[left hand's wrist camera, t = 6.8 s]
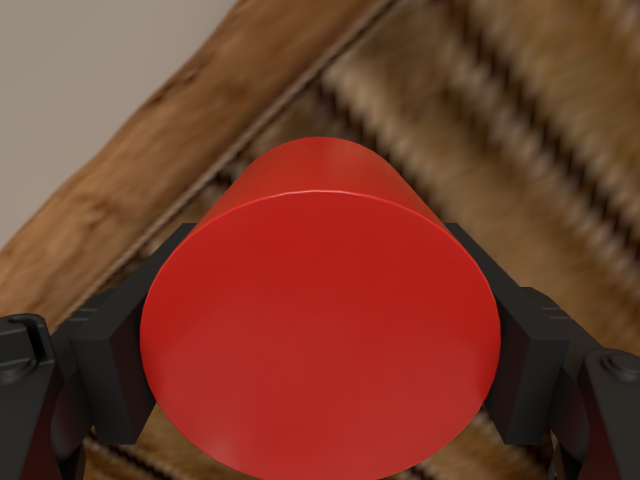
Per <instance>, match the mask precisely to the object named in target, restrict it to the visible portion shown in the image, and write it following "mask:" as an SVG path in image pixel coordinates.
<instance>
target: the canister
mask: <svg viewBox="0 0 640 480" xmlns="http://www.w3.org/2000/svg"><path fill="white" fill-rule="evenodd" d="M500 347H501V330H500V318H499V314H498V310H497V305H496V301H495V298H494V296H493V293H492V291H491V288H490V286H489V283H488V281H487V279H486V277H485V276H484V274H483V273H482V271H481V269H480V268H479V266H478V264H477V263H476V261H475V260H474V259H473V258H472V256H471V255H470V254H469V253H468V252H467V251H466V249H465V248H464V247H463V246H462V245H461V244H460V242H459V241H458V240H457V239H456V238H455V237H454V236H453V235H452V233H451V232H450V231H449V230H448V229H447V228H446V227H445V226H444V224H443V223H442V222H441V221H440V220H439V219H438V218H437V217H436V215H435V214H434V213H433V212H432V211H431V210H430V209H429V208H428V206H427V205H426V204H425V203H424V202H423V201H422V200H421V199H420V197H419V196H418V195H417V194H416V193H415V192H414V191H413V190H412V188H411V187H410V186H409V185H408V184H407V183H406V182H405V181H404V179H403V178H402V177H401V176H400V175H399V174H398V173H397V172H396V170H395V169H394V168H393V167H392V166H391V165H390V164H389V163H388V162H386V161H385V160H384V159H383V158H382V157H380V156H379V155H377V154H376V153H374V152H373V151H371V150H370V149H367V148H365V147H363V146H361V145H359V144H356V143H353V142H350V141H347V140H343V139H337V138H332V137H310V138H302V139H298V140H293V141H289V142H287V143H284V144H282V145H279V146H277V147H275V148H273V149H271V150H269V151H267V152H266V153H264V154H263V155H261V156H260V157H259V158H257V159H256V160H255V161H254V162H253V163H252V164H251V165H250V166H249V167H248V168H247V169H246V170H245V171H244V172H243V173H242V174H241V175H240V176H239V177H238V178H237V180H236V181H235V182H234V183H233V184H232V185H231V186H230V188H229V189H228V190H227V191H226V192H225V193H224V194H223V195H222V197H221V198H220V199H219V200H218V201H217V202H216V203H215V204H214V206H213V207H212V208H211V209H210V210H209V211H208V212H207V213H206V215H205V216H204V217H203V218H202V219H201V220H200V221H199V223H198V224H197V225H196V226H195V227H194V228H193V229H192V230H191V232H190V233H189V234H188V235H187V236H186V237H185V238H184V239H183V241H182V242H181V243H180V244H179V245H178V246H177V247H176V248H175V250H174V251H173V252H172V253H171V255H170V256H169V257H168V259H167V260H166V261H165V263H164V264H163V265H162V267H161V268H160V270H159V272H158V274H157V275H156V277H155V279H154V281H153V283H152V285H151V287H150V289H149V292H148V295H147V298H146V301H145V304H144V307H143V312H142V318H141V324H140V353H141V359H142V365H143V370H144V373H145V376H146V379H147V382H148V385H149V387H150V389H151V391H152V393H153V395H154V398H155V400H156V402H157V403H158V405H159V406H160V408H161V409H162V411H163V412H164V414H165V415H166V417H167V418H168V420H169V421H170V422H171V423H172V424H173V425H174V426H175V427H176V429H177V430H178V431H179V432H180V433H181V434H182V435H183V436H184V437H185V438H187V439H188V440H189V441H190V442H191V443H192V444H193V445H194V446H196V447H197V448H199V449H200V450H201V451H203V452H204V453H206V454H207V455H209V456H210V457H212V458H213V459H215V460H217V461H219V462H221V463H222V464H224V465H226V466H228V467H230V468H232V469H235V470H237V471H239V472H242V473H244V474H247V475H250V476H253V477H256V478H259V479H263V480H378V479H382V478H385V477H388V476H390V475H393V474H396V473H399V472H402V471H404V470H406V469H408V468H410V467H412V466H414V465H416V464H418V463H420V462H422V461H424V460H425V459H427V458H429V457H430V456H432V455H433V454H435V453H437V452H438V451H439V450H440V449H442V448H443V447H444V446H446V445H447V444H448V443H450V442H451V441H452V440H453V439H454V438H455V437H456V436H457V435H458V434H459V433H460V432H461V431H462V430H463V429H464V428H465V427H466V426H467V425H468V424H469V422H470V421H471V420H472V419H473V417H474V416H475V415H476V414H477V412H478V410H479V409H480V407H481V405H482V404H483V402H484V401H485V399H486V397H487V395H488V393H489V390H490V388H491V386H492V383H493V381H494V379H495V375H496V371H497V367H498V363H499V358H500Z"/></svg>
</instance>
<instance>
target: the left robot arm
mask: <svg viewBox="0 0 640 480" xmlns="http://www.w3.org/2000/svg"><path fill="white" fill-rule="evenodd" d="M197 224H198V223H183V224H182V225H181V226H180V227H179V228H178V229H177V230H176V231H175V232H174V233H173V234H172V235H171V236H170V237H169V238H168V239H167V240H166V241H165V242H164V243H163V244H162V245H161V246H160V247H159V248H158V249H157V250H156V251H155V252H154V253H153V254H152V255H151V256H150V257H149V258H148V259H147V260H146V261H145V262H144V263H143V264H142V265H141V266H140V267H139V268H138V269H137V270H136V271H135V272H134V273H133V274H132V275H131V276H130V277H129V278H128V279H127V280H126V281H125V282H124V283H123V284H122V285H121V286H120V287H119V288H109V289H107V290H105V291H104V292H102V293H100V294H98V295H96V296H94V297H92V298H91V299H90V300H89V301H88V302H87V303H86V304H85V305H83V306H82V307H81V308H80V311H77V312H76V313H75V314H74V315H73V316H72V317H71V318H70V320H69V321H66V322H65V323H64V324H63V325H62V326H61V327H60V328H59V329H58V330H57V331H56V332H55V333H53V334H52V335H51V336H50V335H49V332H48V328H47V325H46V322H45V319H44V318H43V317H41V316H40V315H38V314H29V313H24V314H14V315H9V316H5V317H1V318H0V480H83V477H84V470H85V463H86V453H85V448H84V445H83V439H84V438H85V436H86V435H87V433H88V432H89V430H90V429H91V427H92V426H93V425H94V428H95V431H96V435H97V438H98V442H99V445H135V443H136V441H137V439H138V437H139V435H140V433H141V431H142V429H143V427H144V425H145V423H146V422H147V420H148V418H149V416H150V414H151V412H152V410H153V408H154V406H155V404H156V400H155V398H154V395H153V393H152V391H151V389H150V387H149V385H148V382H147V379H146V376H145V373H144V370H143V365H142V359H141V353H140V324H141V318H142V312H143V307H144V304H145V301H146V298H147V295H148V292H149V289H150V287H151V285H152V283H153V281H154V279H155V277H156V275H157V274H158V272H159V270H160V268H161V267H162V265H163V264H164V263H165V261H166V260H167V259H168V257H169V256H170V255H171V253H172V252H173V251H174V250H175V248H176V247H177V246H178V245H179V244H180V243H181V242H182V241H183V239H184V238H185V237H186V236H187V235H188V234H189V233H190V232H191V230H192V229H193V228H194V227H195V226H196V225H197ZM443 224H444V226H445V227H446V228H447V229H448V230H449V231H450V232H451V233H452V235H453V236H454V237H455V238H456V239H457V240H458V241H459V242H460V244H461V245H462V246H463V247H464V248H465V249H466V251H467V252H468V253H469V254H470V255H471V256H472V258H473V259H474V260H475V261H476V263H477V264H478V266H479V268H480V269H481V271H482V273H483V274H484V276H485V277H486V279H487V281H488V283H489V286H490V288H491V291H492V293H493V296H494V298H495V301H496V305H497V310H498V314H499V318H500V330H501V347H500V358H499V363H498V367H497V371H496V375H495V379H494V381H493V383H492V386H491V388H490V390H489V393H488V395H487V397H486V399H485V401H484V402H483V403H484V405H485V407H486V408H487V410H488V412H489V414H490V416H491V418H492V420H493V422H494V424H495V426H496V428H497V430H498V432H499V434H500V436H501V438H502V440H503V442H504V443H505V445H540V444H541V441H542V437H543V434H544V430H545V427H546V423H547V424H548V426H549V427H550V429H551V430H552V432H553V433H554V435H555V436H556V438H557V439H558V441H557V445H556V448H555V451H554V454H553V458H552V461H551V464H550V467H549V470H548V474H547V479H546V480H554V477H555V476H557V480H640V357H638V356H636V355H634V354H631V353H628V352H624V351H621V350H618V349H611V348H604V347H602V346H601V345H600V344H599V343H598V342H597V341H596V340H595V339H594V338H593V337H592V336H591V335H589V334H588V333H587V332H586V331H585V330H584V329H583V328H582V327H581V326H580V325H579V324H578V323H577V322H575V321H574V320H573V319H571V317H570V316H569V315H568V314H567V313H566V312H565V311H564V310H561V309H560V307H559V306H558V305H557V304H556V303H555V302H554V301H553V300H552V299H551V298H549V297H548V296H546V295H545V294H543V293H541V292H539V291H537V290H535V289H533V288H531V287H520V286H519V285H518V284H517V283H516V282H515V281H514V280H513V279H512V278H511V277H510V276H509V275H508V274H507V273H506V272H505V271H504V270H503V269H502V268H501V267H500V266H499V265H498V264H497V263H496V262H495V261H494V260H493V259H492V258H491V257H490V256H489V255H488V254H487V253H486V252H485V251H484V250H483V249H482V248H481V247H480V246H479V245H478V244H477V243H476V242H475V241H474V240H473V239H472V238H471V237H470V236H469V235H468V234H467V233H466V232H465V231H464V230H463V229H462V228H461V227H460V226H459V225H458V224H457V223H443Z"/></svg>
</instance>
